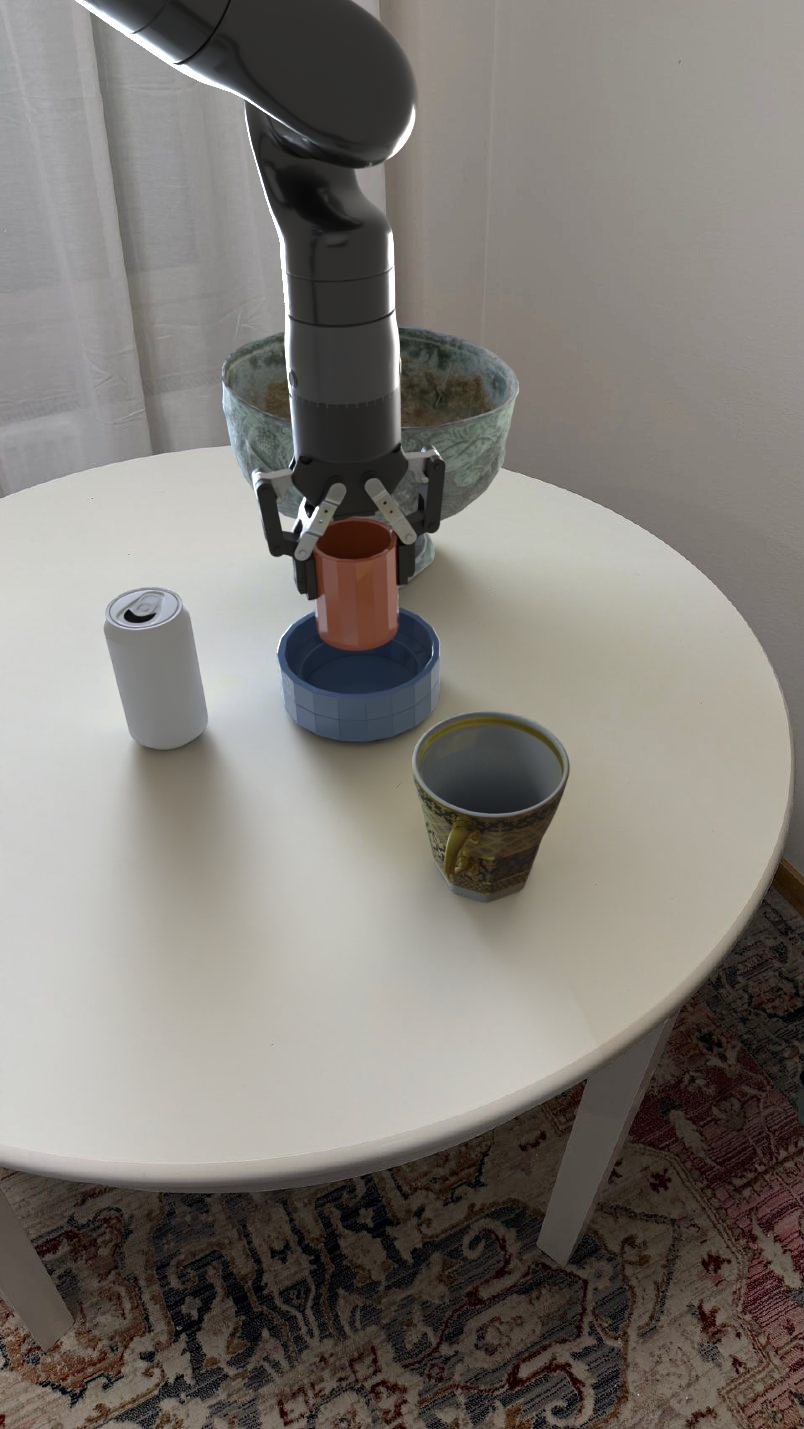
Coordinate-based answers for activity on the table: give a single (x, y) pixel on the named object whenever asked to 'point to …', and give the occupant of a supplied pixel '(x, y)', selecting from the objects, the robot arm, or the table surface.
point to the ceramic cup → (488, 798)
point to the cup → (357, 584)
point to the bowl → (360, 681)
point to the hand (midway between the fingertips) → (355, 586)
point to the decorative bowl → (434, 411)
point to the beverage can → (156, 667)
